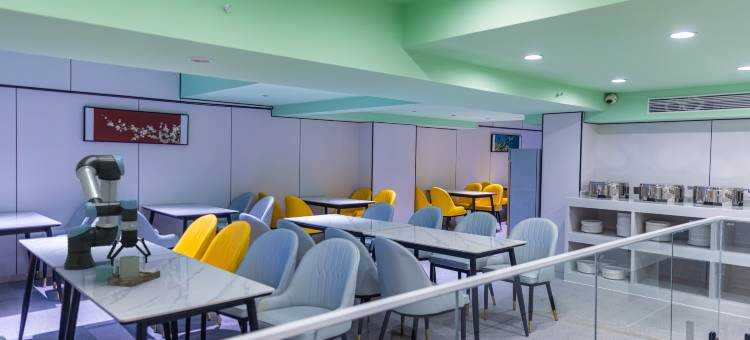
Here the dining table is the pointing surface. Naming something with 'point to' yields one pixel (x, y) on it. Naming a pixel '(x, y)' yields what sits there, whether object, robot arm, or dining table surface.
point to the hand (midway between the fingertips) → (129, 271)
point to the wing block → (105, 272)
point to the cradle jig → (130, 283)
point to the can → (129, 267)
